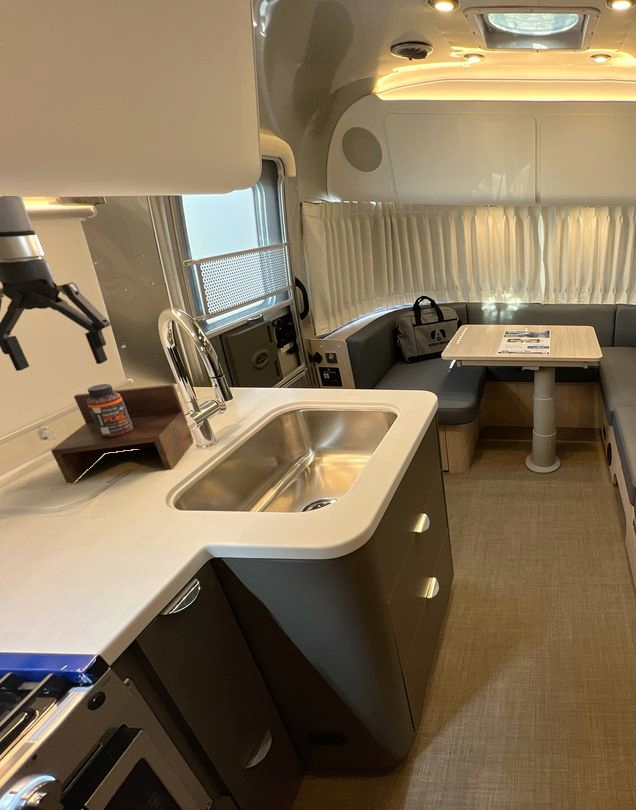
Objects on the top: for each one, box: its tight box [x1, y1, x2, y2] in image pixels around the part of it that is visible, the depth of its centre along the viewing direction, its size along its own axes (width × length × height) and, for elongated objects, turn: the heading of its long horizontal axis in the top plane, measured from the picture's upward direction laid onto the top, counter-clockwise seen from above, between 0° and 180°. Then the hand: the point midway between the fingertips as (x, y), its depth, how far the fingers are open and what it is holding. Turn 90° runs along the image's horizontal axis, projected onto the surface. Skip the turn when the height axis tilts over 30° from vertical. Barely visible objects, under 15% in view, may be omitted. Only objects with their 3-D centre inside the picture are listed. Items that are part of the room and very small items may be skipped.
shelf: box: [50, 384, 194, 485], centre depth 113 cm, size 15×20×16 cm
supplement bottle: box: [87, 383, 133, 437], centre depth 108 cm, size 6×6×11 cm
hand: (63, 365), depth 100 cm, fingers open, 13 cm apart
